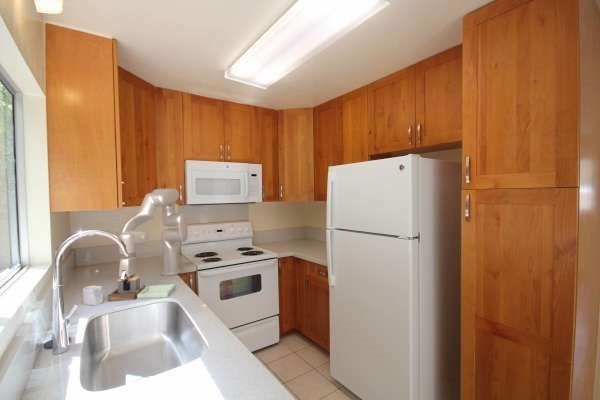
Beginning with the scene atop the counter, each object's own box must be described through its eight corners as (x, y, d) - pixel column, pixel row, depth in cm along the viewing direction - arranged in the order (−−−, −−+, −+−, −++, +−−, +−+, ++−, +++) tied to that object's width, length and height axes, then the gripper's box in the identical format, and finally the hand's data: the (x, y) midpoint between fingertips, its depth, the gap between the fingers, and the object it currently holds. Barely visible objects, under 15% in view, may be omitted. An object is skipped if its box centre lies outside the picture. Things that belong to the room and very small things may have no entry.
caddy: (122, 289, 153) (122, 277, 153) (139, 288, 154) (139, 276, 154) (118, 292, 148) (117, 280, 148) (136, 291, 149) (135, 279, 149)
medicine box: (103, 302, 141) (102, 286, 140) (94, 306, 136) (94, 289, 136) (91, 301, 143) (91, 285, 142) (83, 304, 138) (82, 288, 138)
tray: (147, 290, 158) (147, 285, 158) (175, 288, 160) (175, 284, 160) (137, 299, 144) (137, 294, 144) (167, 297, 146) (167, 292, 146)
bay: (119, 293, 154) (119, 287, 154) (145, 291, 156) (144, 285, 156) (108, 301, 142) (108, 295, 142) (135, 299, 144) (135, 293, 144)
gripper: (127, 252, 158) (128, 283, 159) (112, 259, 141) (113, 294, 142) (141, 252, 159) (142, 282, 160) (128, 259, 143) (129, 293, 143)
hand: (129, 287), depth 151 cm, fingers closed on caddy, 5 cm apart
